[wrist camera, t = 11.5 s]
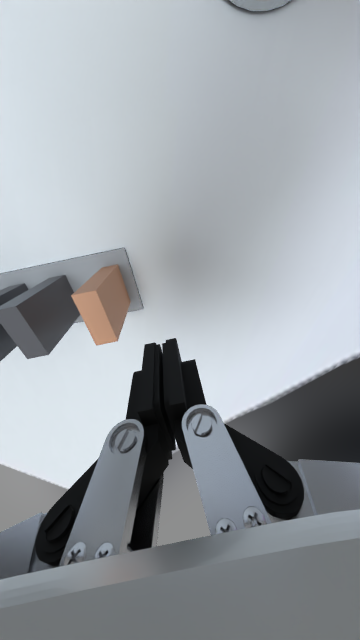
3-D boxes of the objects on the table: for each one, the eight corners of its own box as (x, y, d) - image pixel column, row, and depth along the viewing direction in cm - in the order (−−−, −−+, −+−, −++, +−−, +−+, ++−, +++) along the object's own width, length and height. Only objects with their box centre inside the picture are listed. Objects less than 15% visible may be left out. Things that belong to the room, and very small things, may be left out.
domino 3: (117, 264, 23) (95, 290, 15) (130, 301, 25) (117, 340, 17) (101, 267, 23) (70, 295, 15) (116, 304, 25) (96, 345, 17)
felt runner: (124, 247, 22) (124, 248, 22) (143, 307, 26) (143, 309, 26) (-90, 292, 23) (-94, 293, 22) (-40, 345, 26) (-42, 347, 26)
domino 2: (65, 274, 23) (15, 306, 15) (83, 311, 25) (48, 354, 17) (48, 278, 23) (-10, 311, 15) (68, 314, 25) (27, 359, 17)
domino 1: (24, 283, 23) (-46, 319, 15) (46, 318, 25) (-5, 365, 17) (8, 286, 23) (-71, 324, 15) (31, 321, 25) (-26, 370, 17)
